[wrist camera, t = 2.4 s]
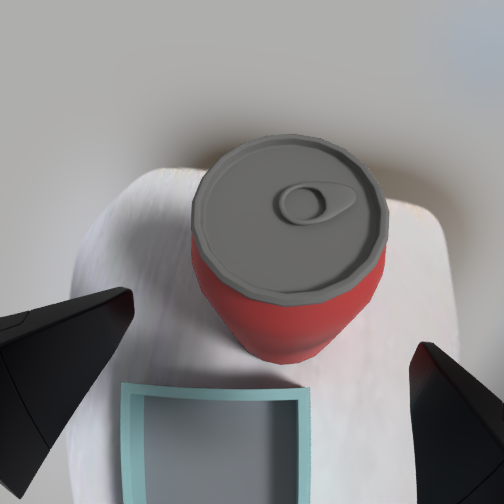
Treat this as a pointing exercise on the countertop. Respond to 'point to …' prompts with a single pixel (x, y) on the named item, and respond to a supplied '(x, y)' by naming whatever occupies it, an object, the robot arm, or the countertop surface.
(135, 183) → the countertop surface
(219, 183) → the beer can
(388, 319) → the countertop surface
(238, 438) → the tray
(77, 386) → the robot arm
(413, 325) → the countertop surface
